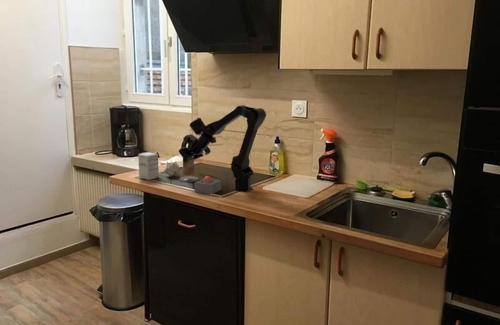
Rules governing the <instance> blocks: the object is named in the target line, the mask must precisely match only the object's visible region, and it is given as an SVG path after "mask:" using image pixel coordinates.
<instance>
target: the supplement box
mask: <svg viewBox="0 0 500 325" xmlns="http://www.w3.org/2000/svg"><path fill="white" fill-rule="evenodd" d="M137 156H138V177H139V178H140V179H144V180H147V181H149V180H153V179H157V178H159V177H160V175H159V171H160V170H159V153H156V152H150V151H149V152H148V151H147V152H143V153H142V152H141V153H138V155H137Z"/></svg>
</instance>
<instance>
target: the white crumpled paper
mask: <svg viewBox="0 0 500 325" xmlns="http://www.w3.org/2000/svg"><path fill="white" fill-rule="evenodd" d="M181 169H183V166H181V167H180V166H179V165H178V163H177V161H173V162H172V161H171V162H169V161H166V166H165V169H164V170H163V172H166V174H167V175H168V178H170V177H175V176H177V177H179V173H180V170H181Z"/></svg>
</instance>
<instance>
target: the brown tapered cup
mask: <svg viewBox="0 0 500 325" xmlns="http://www.w3.org/2000/svg"><path fill="white" fill-rule="evenodd" d="M183 159H184V158H183V157H182V160H183ZM182 173H183V174H182V175H183V176H186V177H188V176H193V175H195V160H194V157H193V159H192V160H190V161H188V162H186V163H183V162H182Z"/></svg>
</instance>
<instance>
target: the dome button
mask: <svg viewBox="0 0 500 325" xmlns="http://www.w3.org/2000/svg"><path fill="white" fill-rule="evenodd" d="M203 179H204V180H203V183H212V182H213V180H212V179H213V178H212V177H211V176H208V175H207V176H205V177H204V178H203Z"/></svg>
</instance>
